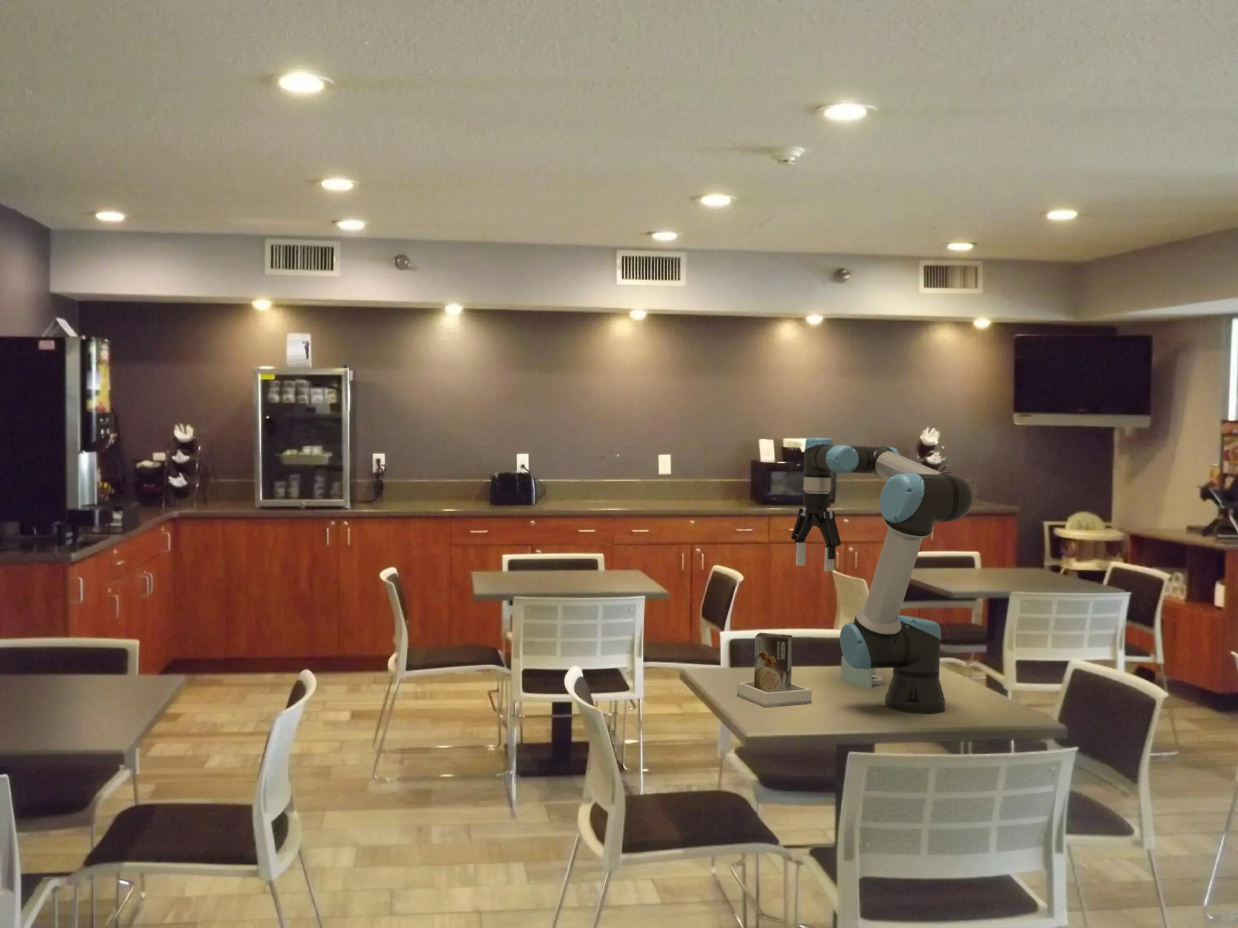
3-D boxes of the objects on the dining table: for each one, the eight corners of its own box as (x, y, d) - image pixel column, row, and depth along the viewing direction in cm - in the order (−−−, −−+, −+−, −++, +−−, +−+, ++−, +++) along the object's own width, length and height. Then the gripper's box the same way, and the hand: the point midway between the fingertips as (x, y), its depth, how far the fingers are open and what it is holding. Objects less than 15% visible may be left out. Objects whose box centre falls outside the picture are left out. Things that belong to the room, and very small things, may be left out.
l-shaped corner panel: (869, 690, 316) (870, 663, 316) (840, 681, 326) (841, 655, 326) (901, 686, 322) (902, 660, 322) (872, 678, 332) (873, 652, 332)
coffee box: (792, 695, 300) (794, 634, 300) (787, 700, 294) (789, 638, 294) (757, 691, 303) (759, 631, 303) (752, 696, 297) (754, 635, 297)
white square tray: (811, 703, 295) (811, 689, 294) (765, 707, 288) (766, 693, 288) (781, 691, 307) (781, 679, 307) (736, 695, 301) (737, 682, 301)
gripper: (855, 495, 308) (852, 572, 308) (802, 490, 331) (799, 563, 331) (833, 494, 305) (830, 573, 305) (780, 490, 327) (778, 563, 328)
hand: (814, 568), depth 318 cm, fingers open, 13 cm apart
